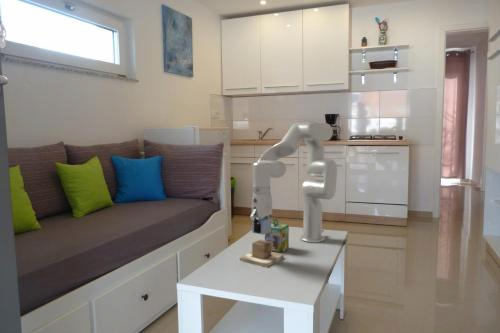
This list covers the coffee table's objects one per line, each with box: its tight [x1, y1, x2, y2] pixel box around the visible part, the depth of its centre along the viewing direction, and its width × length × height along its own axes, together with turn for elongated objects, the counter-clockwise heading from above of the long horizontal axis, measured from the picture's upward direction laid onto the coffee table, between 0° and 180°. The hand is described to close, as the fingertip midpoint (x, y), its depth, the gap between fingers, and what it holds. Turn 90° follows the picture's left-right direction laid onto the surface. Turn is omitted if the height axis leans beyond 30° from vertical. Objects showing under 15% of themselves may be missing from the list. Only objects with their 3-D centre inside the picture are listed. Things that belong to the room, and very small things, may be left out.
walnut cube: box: [251, 239, 272, 259], centre depth 163 cm, size 6×6×6 cm
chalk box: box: [264, 217, 290, 254], centre depth 177 cm, size 9×9×15 cm
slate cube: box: [251, 217, 272, 236], centre depth 162 cm, size 6×6×6 cm
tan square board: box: [239, 251, 284, 268], centre depth 163 cm, size 14×14×2 cm
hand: (261, 230), depth 162 cm, fingers closed on slate cube, 6 cm apart
